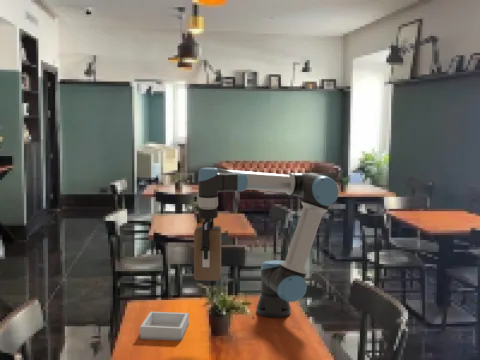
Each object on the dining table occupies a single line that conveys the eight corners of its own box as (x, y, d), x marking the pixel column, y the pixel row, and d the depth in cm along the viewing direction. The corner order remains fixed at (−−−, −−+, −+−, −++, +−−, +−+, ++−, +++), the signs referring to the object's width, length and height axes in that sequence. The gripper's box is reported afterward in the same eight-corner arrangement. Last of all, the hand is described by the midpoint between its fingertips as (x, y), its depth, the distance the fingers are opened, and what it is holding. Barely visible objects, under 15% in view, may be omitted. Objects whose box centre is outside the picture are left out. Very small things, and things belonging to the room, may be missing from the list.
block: (219, 281, 208) (219, 230, 205) (193, 281, 208) (193, 230, 206) (221, 273, 218) (221, 225, 215) (196, 273, 218) (196, 224, 216)
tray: (188, 324, 224) (188, 313, 224) (181, 340, 208) (181, 328, 208) (150, 323, 226) (150, 311, 225) (140, 338, 210) (140, 326, 209)
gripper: (202, 202, 221) (202, 255, 224) (193, 212, 199) (193, 271, 201) (221, 202, 221) (220, 255, 223) (214, 213, 198) (213, 271, 201)
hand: (208, 263), depth 212 cm, fingers closed on block, 10 cm apart
